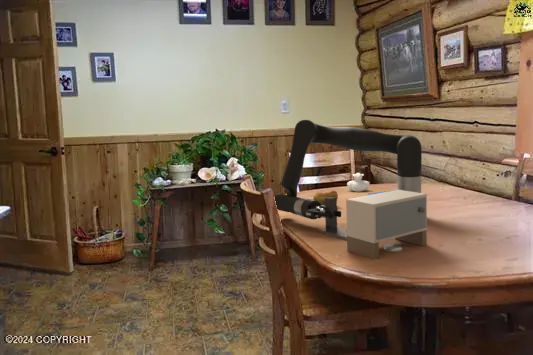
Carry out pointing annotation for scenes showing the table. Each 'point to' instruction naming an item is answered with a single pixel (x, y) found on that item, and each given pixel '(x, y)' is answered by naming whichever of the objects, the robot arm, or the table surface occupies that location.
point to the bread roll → (325, 196)
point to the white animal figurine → (358, 183)
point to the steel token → (392, 247)
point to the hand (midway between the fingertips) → (336, 215)
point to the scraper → (333, 220)
